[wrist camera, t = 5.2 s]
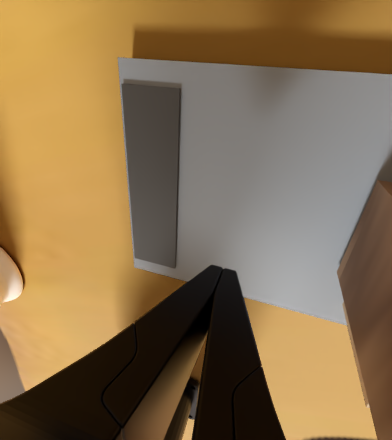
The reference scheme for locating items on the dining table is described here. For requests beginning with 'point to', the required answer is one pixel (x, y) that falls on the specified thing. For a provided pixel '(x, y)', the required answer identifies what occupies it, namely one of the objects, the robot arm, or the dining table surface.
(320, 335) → the dining table surface
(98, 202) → the dining table surface
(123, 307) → the dining table surface
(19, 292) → the jar
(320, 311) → the bridge deck
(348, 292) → the wooden block
